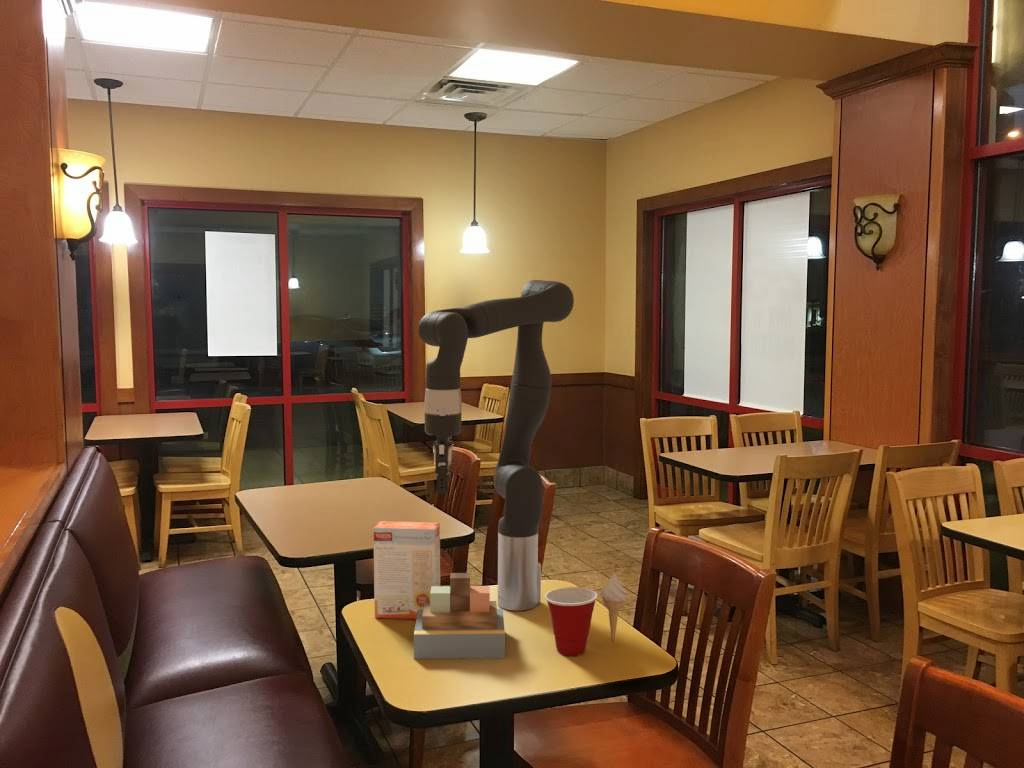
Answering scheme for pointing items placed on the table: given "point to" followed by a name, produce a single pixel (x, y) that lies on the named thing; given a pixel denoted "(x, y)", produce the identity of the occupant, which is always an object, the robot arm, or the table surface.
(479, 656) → the dock
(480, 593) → the block
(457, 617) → the pallet
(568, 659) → the table surface
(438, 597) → the pale green cube
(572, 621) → the plastic cup
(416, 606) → the cracker box
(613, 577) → the ice cream cone
